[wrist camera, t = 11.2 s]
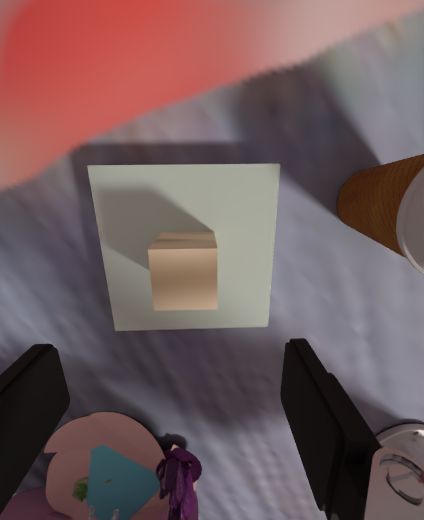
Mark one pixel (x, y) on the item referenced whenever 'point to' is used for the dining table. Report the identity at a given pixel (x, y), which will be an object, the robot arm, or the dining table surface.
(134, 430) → the purple clam shell
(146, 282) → the sage stand
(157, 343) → the dining table surface
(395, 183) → the disposable coffee cup
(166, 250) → the maple block
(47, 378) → the robot arm
